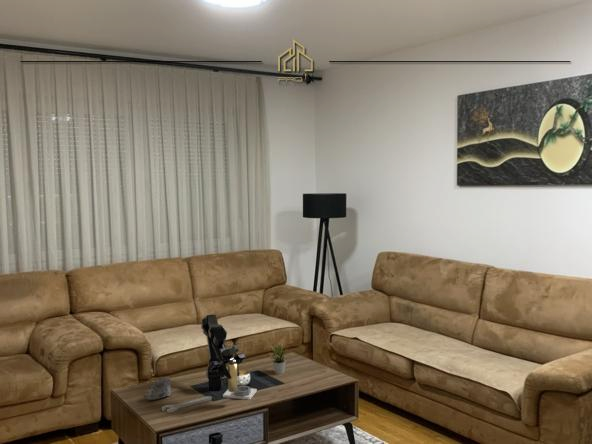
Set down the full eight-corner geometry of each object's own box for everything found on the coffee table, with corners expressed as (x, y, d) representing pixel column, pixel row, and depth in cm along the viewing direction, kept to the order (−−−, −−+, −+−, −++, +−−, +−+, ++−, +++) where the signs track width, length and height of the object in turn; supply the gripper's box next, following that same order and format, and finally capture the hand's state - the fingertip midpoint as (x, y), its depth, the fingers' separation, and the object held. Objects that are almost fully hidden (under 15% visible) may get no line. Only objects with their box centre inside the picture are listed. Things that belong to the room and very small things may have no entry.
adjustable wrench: (210, 398, 282) (210, 395, 282) (215, 403, 276) (215, 399, 276) (160, 409, 269) (160, 406, 268) (165, 414, 263) (165, 410, 263)
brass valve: (226, 391, 271) (226, 361, 270) (230, 388, 275) (230, 359, 274) (235, 392, 270) (234, 362, 269) (239, 389, 274) (238, 359, 273)
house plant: (264, 368, 324) (263, 340, 323) (288, 366, 326) (287, 338, 325) (267, 376, 310) (266, 347, 309) (292, 374, 312) (292, 345, 311)
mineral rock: (146, 403, 276) (145, 382, 275) (144, 395, 286) (143, 375, 285) (173, 399, 280) (172, 379, 280) (170, 391, 291) (169, 372, 290)
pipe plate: (222, 397, 282) (222, 390, 281) (230, 389, 293) (230, 382, 292) (249, 399, 278) (249, 392, 278) (256, 391, 289) (256, 384, 289)
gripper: (210, 344, 267) (224, 373, 260) (243, 336, 280) (257, 364, 272) (202, 357, 274) (215, 385, 267) (233, 349, 286) (247, 376, 279)
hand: (234, 377), depth 271 cm, fingers closed on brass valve, 4 cm apart
